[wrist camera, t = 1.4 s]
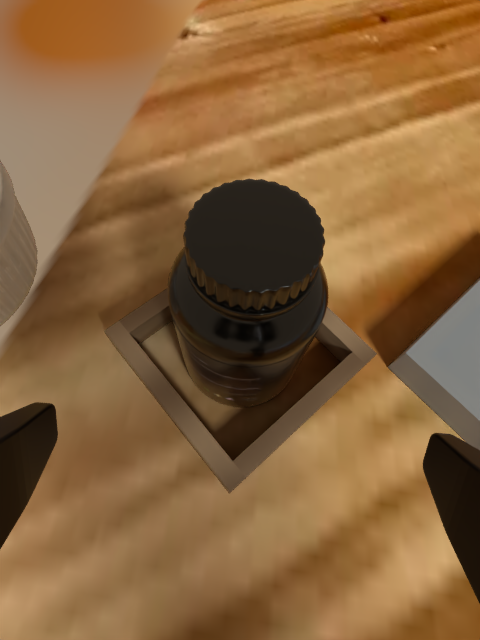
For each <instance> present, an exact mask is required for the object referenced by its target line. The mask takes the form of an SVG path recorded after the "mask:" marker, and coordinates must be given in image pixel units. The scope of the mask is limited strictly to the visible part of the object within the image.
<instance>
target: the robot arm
mask: <svg viewBox="0 0 480 640" xmlns="http://www.w3.org/2000/svg"><path fill="white" fill-rule="evenodd" d="M57 436H58V431H57V420H56V410H55V407H54V405H53V404H50V403H38V402H37V403H33V404H30V405H28V406H26V407H23V408H21V409H18V410H16V411H14V412H11V413H9V414H7V415H4V416H2V417H0V549H1V547H2V546H3V544H4V542H5V541H6V539H7V537H8V536H9V534H10V532H11V531H12V529H13V527H14V526H15V524H16V522H17V521H18V519H19V517H20V516H21V514H22V512H23V510H24V509H25V507H26V505H27V503H28V502H29V500H30V498H31V496H32V494H33V491H34V489H35V487H36V485H37V483H38V481H39V479H40V476H41V474H42V472H43V470H44V468H45V466H46V464H47V461H48V459H49V457H50V455H51V453H52V451H53V449H54V446H55V444H56V441H57ZM423 470H424V473H425V476H426V479H427V482H428V485H429V487H430V490H431V493H432V496H433V498H434V501H435V504H436V507H437V509H438V512H439V515H440V518H441V521H442V523H443V526H444V528H445V531H446V533H447V536H448V538H449V540H450V542H451V544H452V547H453V549H454V551H455V553H456V555H457V557H458V559H459V561H460V563H461V565H462V568H463V570H464V572H465V574H466V576H467V578H468V580H469V582H470V584H471V587H472V589H473V591H474V593H475V595H476V597H477V599H478V601H479V603H480V450H479V449H477V448H475V447H473V446H471V445H470V444H468V443H466V442H464V441H462V440H461V439H459V438H457V437H455V436H454V435H451V434H443V433H434V434H432V435H431V437H430V439H429V443H428V446H427V450H426V453H425V456H424V460H423Z"/></svg>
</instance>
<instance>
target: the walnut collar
mask: <svg viewBox="0 0 480 640" xmlns="http://www.w3.org/2000/svg"><path fill="white" fill-rule="evenodd" d="M172 320H173V319H172V316H171V312H170V308H169V302H168V288H167V289H165V290H164V291H163V292H161V293H160V294H158V295H157V296H155V297H154V298H152V299H151V300H149V301H148V302H146V303H145V304H143V305H142V306H140V307H139V308H137V309H136V310H134V311H133V312H131V313H130V314H128V315H127V316H125V317H124V318H122V319H121V320H119V321H118V322H116V323H115V324H113V325H112V326H110V327H109V328H107V329H106V330H105V331H104V332H105V333H106V335H107V336H108V338H109V339H110V341H111V342H112V344H113V345H114V347H115V348H116V349H117V350H118V352H119V353H120V354H121V356H122V357H123V358H124V359H125V361H126V362H127V363H128V365H129V366H130V367H131V368H132V370H133V371H134V372H135V373H136V375H137V376H138V377H139V379H140V380H141V381H142V382H143V384H144V385H145V386H146V388H147V389H148V390H149V391H150V393H151V394H152V395H153V397H154V398H155V399H156V400H157V402H158V403H159V404H160V405H161V407H162V408H163V409H164V411H165V412H166V413H167V414H168V416H169V417H170V418H171V420H172V421H173V422H174V423H175V425H176V426H177V427H178V429H179V430H180V431H181V432H182V434H183V435H184V436H185V438H186V439H187V440H188V441H189V443H190V444H191V445H192V446H193V448H194V449H195V450H196V452H197V453H198V454H199V455H200V457H201V458H202V459H203V461H204V462H205V463H206V464H207V466H208V467H209V468H210V470H211V471H212V472H213V473H214V475H215V476H216V477H217V478H218V480H219V481H220V482H221V484H222V485H223V486H224V487H225V489H226V490H227V491H228V493H230V492H232V491H233V490H234V489H235V488H236V487H237V486H238V485H239V484H240V483H241V482H242V481H243V480H244V479H245V478H246V477H247V476H248V475H249V474H251V473H252V472H253V471H254V470H255V469H256V468H257V467H258V466H259V465H260V464H261V463H262V462H263V461H264V460H265V459H266V458H267V457H269V456H270V455H271V454H272V453H273V452H274V451H275V450H276V449H277V448H278V447H279V446H280V445H281V444H282V443H283V442H284V441H285V440H287V439H288V438H289V437H290V436H291V435H292V434H293V433H294V432H295V431H296V430H297V429H298V428H299V427H300V426H301V425H302V424H303V423H305V422H306V421H307V420H308V419H309V418H310V417H311V416H312V415H313V414H314V413H315V412H316V411H317V410H318V409H319V408H320V407H321V406H322V405H324V404H325V403H326V402H327V401H328V400H329V399H330V398H331V397H332V396H333V395H334V394H335V393H336V392H337V391H338V390H339V389H340V388H342V387H343V386H344V385H345V384H346V383H347V382H348V381H349V380H350V379H351V378H352V377H353V376H354V375H355V374H356V373H357V372H358V371H360V370H361V369H362V368H363V367H364V366H365V365H366V364H367V363H368V362H369V361H370V360H371V359H372V358H373V357H374V356H375V355H376V354H377V353H376V352H375V351H374V350H373V349H371V348H370V347H369V346H368V345H367V344H366V343H365V342H364V341H363V340H362V339H361V338H360V337H359V336H358V335H357V334H356V333H355V332H353V331H352V330H351V329H350V328H349V327H348V326H347V325H346V324H345V323H344V322H343V321H342V320H341V319H340V318H339V317H338V316H337V315H335V314H334V313H333V312H332V311H331V310H330V309H329V308H328V307H327V309H326V313H325V316H324V319H323V321H322V324H321V326H320V328H319V330H318V332H317V333H316V335H315V337H316V338H317V339H318V340H319V341H320V342H321V343H322V344H323V345H324V346H325V347H326V348H327V349H328V350H329V351H330V352H331V353H332V354H333V355H334V356H335V357H336V358H337V359H338V360H339V361H340V362H341V363H340V364H339V365H338V366H336V367H335V368H334V369H333V370H332V371H331V372H330V373H329V374H328V375H327V376H325V377H324V378H323V379H322V380H321V381H320V382H319V383H318V384H317V385H316V386H315V387H313V388H312V389H311V390H310V391H309V392H308V393H307V394H306V395H305V396H304V397H302V398H301V399H300V400H299V401H298V402H297V403H296V404H295V405H294V406H293V407H292V408H290V409H289V410H288V411H287V412H286V413H285V414H284V415H283V416H282V417H281V418H279V419H278V420H277V421H276V422H275V423H274V424H273V425H272V426H271V427H270V428H269V429H267V430H266V431H265V432H264V433H263V434H262V435H261V436H260V437H259V438H258V439H256V440H255V441H254V442H253V443H252V444H251V445H250V446H249V447H248V448H247V449H246V450H244V451H243V452H242V453H241V454H240V455H239V456H238V457H237V458H236V459H235V460H233V461H232V460H231V458H230V457H229V456H228V455H227V454H226V452H225V451H224V450H223V449H222V447H221V446H220V445H219V444H218V442H217V441H216V440H215V439H214V437H213V436H212V435H211V434H210V433H209V431H208V430H207V429H206V428H205V426H204V425H203V424H202V423H201V421H200V420H199V419H198V418H197V416H196V415H195V414H194V413H193V412H192V410H191V409H190V408H189V407H188V405H187V404H186V403H185V402H184V400H183V399H182V398H181V397H180V395H179V394H178V393H177V392H176V390H175V389H174V388H173V387H172V386H171V384H170V383H169V382H168V381H167V379H166V378H165V377H164V376H163V374H162V373H161V372H160V371H159V369H158V368H157V367H156V366H155V365H154V363H153V362H152V361H151V360H150V358H149V357H148V356H147V355H146V353H145V352H144V351H143V350H142V348H141V347H140V346H139V345H138V344H140V343H141V342H143V341H144V340H145V339H147V338H148V337H150V336H151V335H152V334H154V333H155V332H157V331H158V330H159V329H161V328H162V327H164V326H165V325H166V324H168V323H169V322H171V321H172Z"/></svg>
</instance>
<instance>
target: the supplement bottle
mask: <svg viewBox="0 0 480 640" xmlns="http://www.w3.org/2000/svg"><path fill="white" fill-rule="evenodd" d="M323 234H324V228H323V227H322V225H321V218H320V217H319V216H318V215H317V214H316V210H315V208H314V207H312V206H311V205H310V204H309V202H308V200H307V199H305V198H303V197H301V196H300V194H299V193H298V192H296V191H293V190H290V189H289V188H288V187H287V186H283V185H279V184H278V183H276V182H268V181H265V180H263V179H260V180H253V179H246V180H235V181H233V182H231V183H224V184H222V185H221V186H220V187H215V188H213V189H212V190H211V191H210V192H208V193H205V194H203V196H202V197H201V199H200V200H198V201H197V202H195V204H194V208H193V209H192V210H190V212H189V215H188V219H187V221H186V222H185V232H184V235H183V239H184V245H185V246H184V248H183V249H182V250H181V252H180V253H179V254H178V256H177V258H176V260H175V261H174V264H173V266H172V268H171V272H170V275H169V280H168V302H169V308H170V312H171V316H172V319H173V323H174V326H175V330H176V333H177V337H178V340H179V344H180V347H181V351H182V354H183V358H184V361H185V365H186V367H187V370H188V373H189V375H190V377H191V379H192V380H193V382H194V383H195V385H196V386H197V387H198V388H199V389H200V390H201V391H202V392H203V393H204V394H205V395H207V396H208V397H209V398H211V399H213V400H215V401H217V402H219V403H221V404H225V405H228V406H234V407H249V406H254V405H258V404H261V403H264V402H266V401H268V400H270V399H272V398H273V397H275V396H276V395H277V394H278V393H280V392H281V391H282V390H283V389H284V388H285V386H286V385H287V384H288V382H289V381H290V379H291V378H292V376H293V374H294V373H295V371H296V369H297V367H298V366H299V364H300V362H301V360H302V359H303V357H304V355H305V353H306V351H307V350H308V348H309V346H310V344H311V342H312V341H313V339H314V337H315V335H316V333H317V332H318V330H319V328H320V326H321V324H322V321H323V319H324V316H325V313H326V309H327V305H328V284H327V279H326V275H325V272H324V269H323V267H322V265H321V263H320V262H321V259H322V257H323V247H324V245H325V239H324V236H323Z"/></svg>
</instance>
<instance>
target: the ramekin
mask: <svg viewBox="0 0 480 640" xmlns="http://www.w3.org/2000/svg"><path fill="white" fill-rule="evenodd" d="M36 267H37V248H36V245H35V239H34V236H33V234H32V231H31V228H30V226H29V224H28V221H27V219H26V217H25V215H24V213H23V211H22V209H21V207H20V205H19V203H18V201H17V199H16V196H15V195H14V188H13V184H12V181H11V179H10V176H9V174H8V172H7V170H6V169H5V167H4V166H3V164H2V163H1V161H0V326H1V325H2V324H3V323H5V322H6V321H7V320H8V319H9V318H10V317H11V316H12V315H13V314H14V313H15V311H16V310H17V309H18V308H19V306H20V305H21V304H22V302H23V301H24V299H25V297H26V296H27V295H28V293H29V290H30V288H31V286H32V284H33V281H34V277H35V274H36Z"/></svg>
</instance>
